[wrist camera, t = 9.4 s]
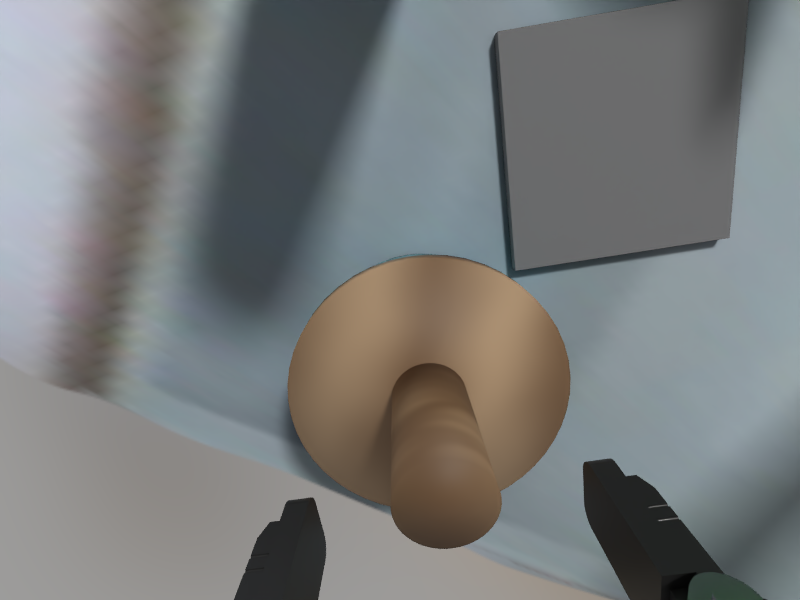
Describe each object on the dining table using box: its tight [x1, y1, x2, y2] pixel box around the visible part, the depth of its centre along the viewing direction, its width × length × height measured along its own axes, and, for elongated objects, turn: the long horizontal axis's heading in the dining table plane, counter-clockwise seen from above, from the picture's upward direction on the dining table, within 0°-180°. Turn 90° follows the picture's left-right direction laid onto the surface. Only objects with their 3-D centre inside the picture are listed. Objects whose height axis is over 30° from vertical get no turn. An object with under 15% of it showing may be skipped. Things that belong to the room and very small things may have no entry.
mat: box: [494, 0, 749, 271], centre depth 20 cm, size 11×11×1 cm
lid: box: [288, 255, 570, 549], centre depth 15 cm, size 12×12×7 cm
